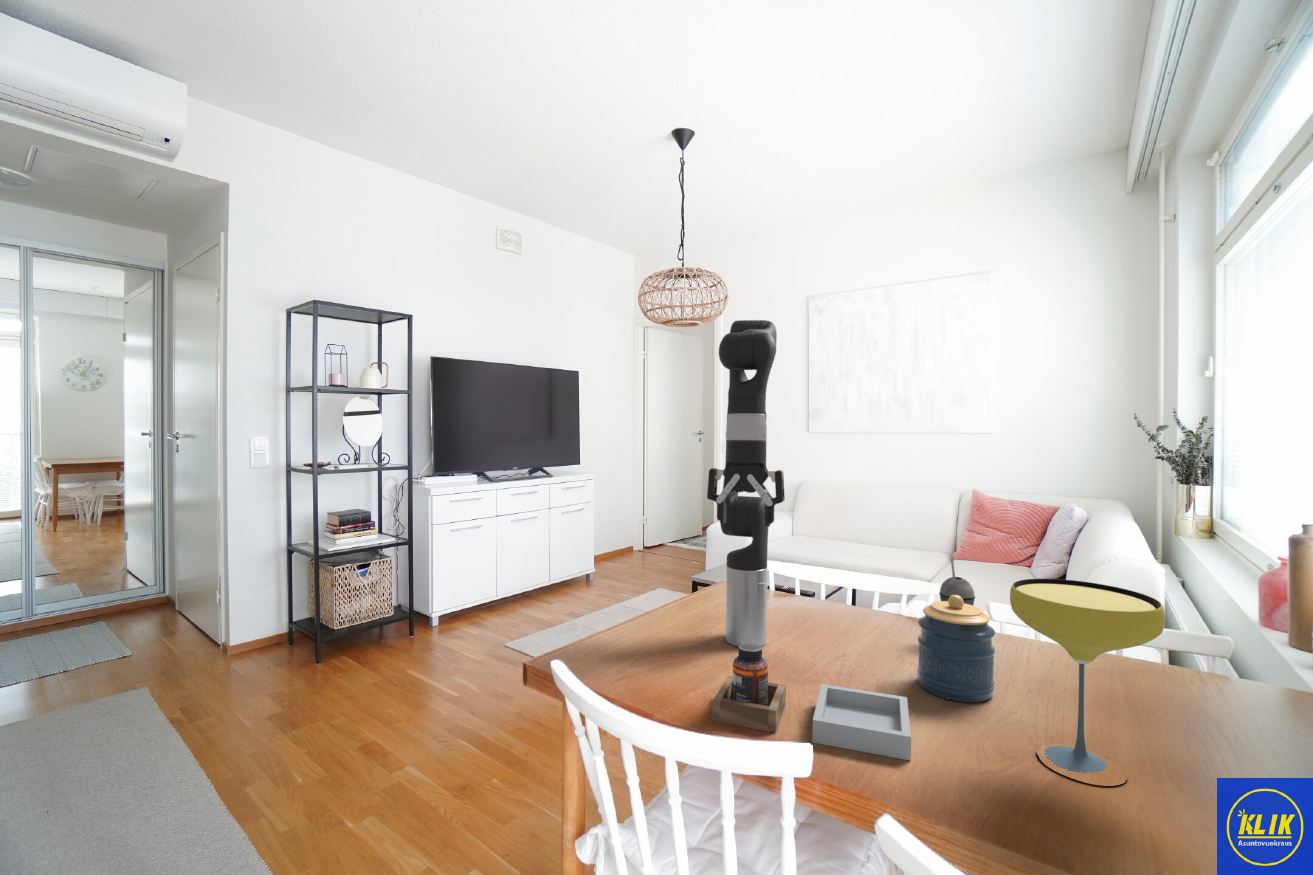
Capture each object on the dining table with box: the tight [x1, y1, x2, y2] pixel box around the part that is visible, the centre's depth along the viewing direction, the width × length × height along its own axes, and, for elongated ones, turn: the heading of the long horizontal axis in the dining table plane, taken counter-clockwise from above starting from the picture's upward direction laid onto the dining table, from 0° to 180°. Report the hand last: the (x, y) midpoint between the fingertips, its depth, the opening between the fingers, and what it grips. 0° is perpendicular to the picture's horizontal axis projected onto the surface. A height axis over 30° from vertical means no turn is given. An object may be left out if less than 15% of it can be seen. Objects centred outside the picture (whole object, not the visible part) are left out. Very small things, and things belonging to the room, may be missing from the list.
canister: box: [917, 595, 996, 703], centre depth 111 cm, size 13×13×18 cm
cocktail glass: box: [1009, 578, 1166, 774], centre depth 86 cm, size 18×18×25 cm
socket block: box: [712, 675, 787, 733], centre depth 101 cm, size 10×10×4 cm
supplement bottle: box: [732, 643, 769, 706], centre depth 101 cm, size 6×6×11 cm
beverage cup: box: [939, 557, 976, 606], centre depth 133 cm, size 7×7×20 cm
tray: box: [812, 683, 912, 762], centre depth 95 cm, size 14×14×4 cm
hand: (745, 524), depth 111 cm, fingers open, 8 cm apart
